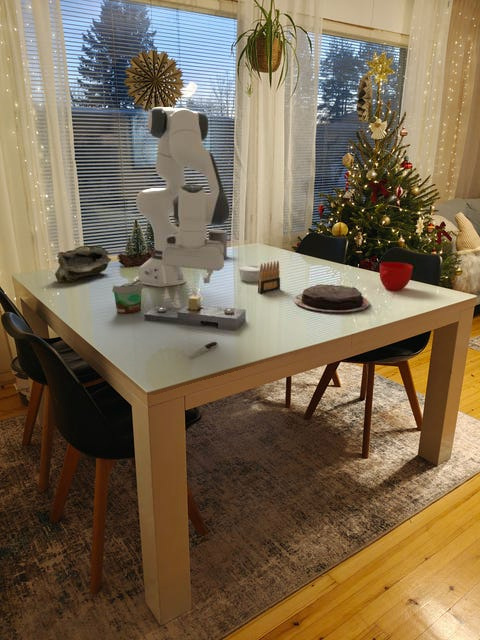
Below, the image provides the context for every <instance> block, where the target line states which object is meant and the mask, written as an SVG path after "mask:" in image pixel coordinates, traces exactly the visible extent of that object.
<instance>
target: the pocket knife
mask: <svg viewBox="0 0 480 640" xmlns="http://www.w3.org/2000/svg"><path fill="white" fill-rule="evenodd" d="M218 345H219V342H217V341H213V342H209V343H207V344H205V345H203V346H201V347H199V348H198V349H197V350H196V351H194V352H193V353H191V354H190V355H188V356H187V359H189V360H190V359H194V358H195V357H198V356H200V355H202V354H204V353H205V352H208V351H210V350H211V349H214V348H216V347H218Z"/></svg>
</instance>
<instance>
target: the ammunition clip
mask: <svg viewBox="0 0 480 640" xmlns="http://www.w3.org/2000/svg"><path fill="white" fill-rule="evenodd" d="M259 266H260V274H259V280H258V282H257V283H258V284H257V293H258V294H259V295H261V294H265V293H266V294H267V293H271V292H275V291H276V292H277V291H280V290H281V277H280V263H279V260H277V261H273V262H272V261H271V262H267V264H266V262H264V264H263V263H261V264H260V265H259Z"/></svg>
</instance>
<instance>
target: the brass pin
mask: <svg viewBox="0 0 480 640" xmlns="http://www.w3.org/2000/svg"><path fill="white" fill-rule="evenodd" d="M187 299H188V302H187V303H188V304H189V311H197V312H199V311H200V310H201V305H202V304H201V296H200V295H191V296H189V297H188V298H187ZM188 304H187V305H188Z"/></svg>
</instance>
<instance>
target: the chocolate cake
mask: <svg viewBox="0 0 480 640" xmlns="http://www.w3.org/2000/svg"><path fill="white" fill-rule="evenodd" d="M362 295H363V294H362V292H361V291H360V290H359V289H357V288H356V287H355V286H353V287H351V286H346V285H342V284H341V285H335V284H332V283H331V284H316V285H313V286H309V287H307V288H305V289H303V292H302V293H299V294H296V295H295V296H294V297H293V301H294V303H295V304H296V305H297V306H299V307H302V308H304V309H306V311H315V312H323V313H324V314H334V315H335V314H336V315H337V314H339V315H340V314H343V315H344V314H352V313H354V312H359V313H360V312H362V311H363V310H365V309H366V310H367V309H368V307H369V306H370V303H371V302H370V301H369V300H368V299H367V298H365V297H364V296H362Z"/></svg>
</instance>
